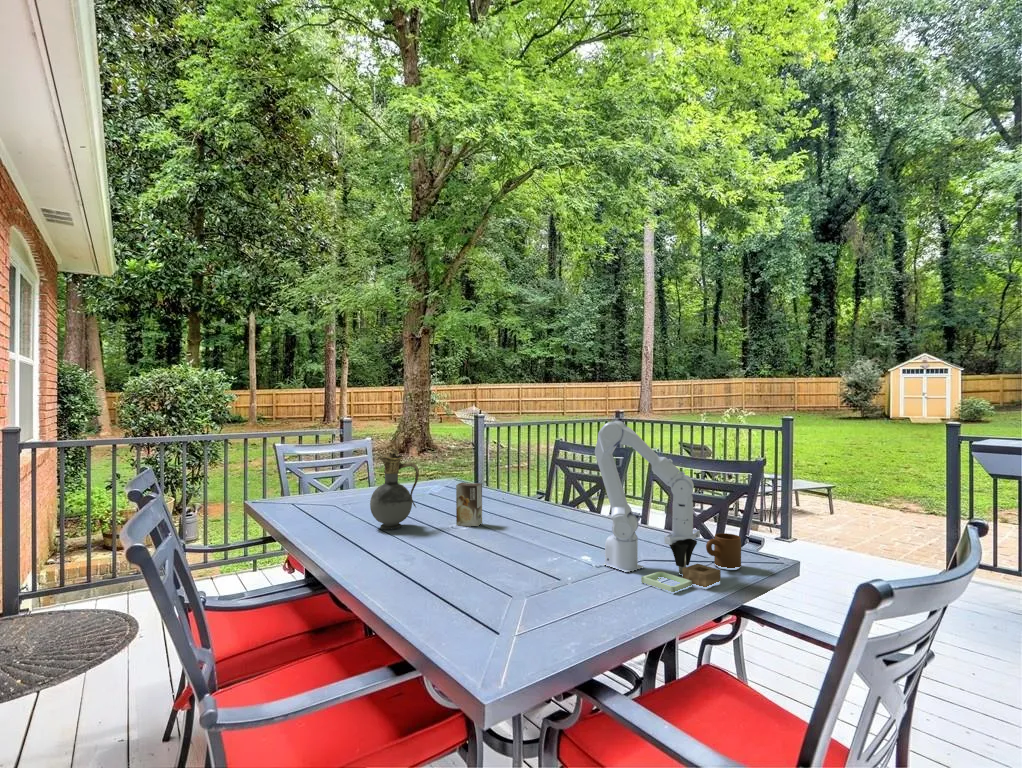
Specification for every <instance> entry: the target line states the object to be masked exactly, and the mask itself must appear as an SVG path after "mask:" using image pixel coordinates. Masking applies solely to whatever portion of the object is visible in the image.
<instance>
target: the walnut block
mask: <svg viewBox="0 0 1022 768" xmlns="http://www.w3.org/2000/svg"><path fill="white" fill-rule="evenodd" d="M721 570H722V569H719V568H714V567H710V566H708V565H704V564H700V563H695V564H691V565H688V566H686V567H685V568H683V576H682V578H684V579H688V580H691V581H692V584H696V585H699V586H703V587H707V586H709V585H712V584H714V583H716V582H719V581H722V580H721V575H722V574H721V572H722V571H721Z"/></svg>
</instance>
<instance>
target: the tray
mask: <svg viewBox="0 0 1022 768" xmlns="http://www.w3.org/2000/svg"><path fill="white" fill-rule="evenodd" d="M658 577H664V578H667V579H671V580H674V581H677V582H680V584H677V585H675V586H670V585H667V584H664V583H661V582H659V581H658V580H657V579H659V578H658ZM640 579H641V582H642V583H646V584H648V585H652V586H655V587H658V588H661V589H665V590H668V591H671V592H675V591H678V590H680V589H683V588H686V587H688V586H691V585H692V581H691V580H688V579H684V578H683V577H682V576H677V575H674V574H672V573H668V572H665V571H662V570H659V571H656V572H653V573H650V574H646V575H643V576H641V578H640ZM660 579H661V578H660ZM660 579H659V580H660Z"/></svg>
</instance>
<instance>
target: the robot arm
mask: <svg viewBox="0 0 1022 768" xmlns="http://www.w3.org/2000/svg"><path fill="white" fill-rule="evenodd" d="M618 445H622V446H628V447H631V448H633V450H635V451H636V452H637V453H638V454H639V455H640V456H641V457H642V458H643V459H644V460H646V462H648V463H649V464H650V465H651V472H652V473H654V474H655V476H657V477H658V478H659V480H661V481H662V482H663V483H664V485H666V486H667V487H670V491H671V493H672V495H673V496H672V516H671V517H672V524H671V525H672V531H671V532H670V533H669V534H668V535H665V536H664V544H665V545H668V546H669V547H670V549H671V552H672V554H673V557H674V561H675V565H676V567H678V568H679V567H684V562H685V553H686V567H688V566H690V561H691V558H692V555H693V552H694V550H695V547H696V546H697V545H698V540H695V539H697V538H700V537H701V530H699V529H696V528H694V503H693V500H694V497H693V491H694V487H695V485H694V482H693V480H692V478H691V477H690V476H689V475H686V473H685V472H684V471H681V470H680V469H679V468H678V467H677V466H676V465H675V464H674V463H673V462H674V461H673V460H672V459H671V458H669V459H668V458H667V457H666V456H659V455H658V454H657V453H656V452H655V451H654V450H653V449H652V448H651V447H650V445H648V443H646V442H645V441H644V440H643V439H642V438H641V437H640V436H639V434H638V433H636V432H635V431H634V430H633V429H632V428H631V427H629V426H627V424H626V423H625V422H623V421H621V420H613V421H608V422H606V423H605V424H603V426H602V427H600V430H599V431H598V435H597V441H596V445H595V449H594V455H595V458H596V462H597V464H598V468H599V471H600V476H601V478H602V482H603V485H604V489H605V492H606V494H607V498H608V500H609V505H610V507H611V514H610V515H611V521H612V526H611V532H612V534H611V535H608V537H607V538H606V539H605V543H604V563H603V565H602V566H604V565H606V566H605V567H607V566H610V567H613V568H616V569H619V570H622V571H624V572H623V573H625V572H629V573H631V572H630V571H632V572H635V571H634V570H636V571H638V570H637V569H639V570H641V569H640V568H642V567H644V566H643V565H640V564H639V563H638V556H639V555H638V551H639V549H638V548H639V547H638V546H639V545H638V542H639V541H638V540H639V539H638V538H639V537H638V535H637V534H636V532H637V530H638V528H639V520H638V518H637V516H636V515H635V513H634V512H633V511H632V507H630V505H629V503H628V500H627V497H626V493H625V491H624V488H623V484H622V481H621V478H620V475H619V471H618V468H617V464H616V461H615V458H614V455H613V453H614V451H615V450H616V448H617V446H618ZM610 567H609V568H610ZM613 568H612V569H613ZM644 568H645V567H644ZM616 569H615V570H616ZM642 569H643V568H642ZM619 570H618V571H619ZM622 571H621V572H622Z"/></svg>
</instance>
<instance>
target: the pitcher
mask: <svg viewBox="0 0 1022 768" xmlns="http://www.w3.org/2000/svg"><path fill="white" fill-rule="evenodd" d="M398 450H399V449H397V448H396V449H395V448H392V450H389V451H388V455H385V456H382V455H379V456H378V457H376V458H375V460H376V461H378V460H381V462H382V463H383V467H384V471H383V472H384V483H383V484H381V485H379V486H378V487H376V488H375V490H374V491H373V493H372V494H371V496H370V500H369V507H370V512H371V514H372V517H373V518H374V519H375V520H376V521H378V522H379V523H381V524H380V529H381V528H382V530H385V529H393V530H396V529H395V528H398V529H400V528H399V527H401V528H402V524H401V522H403V521H405V520H406V519H407V518H408V517H409V515H410V513H411V512H412V506H413V507H415V508H417V506H416V503H415V502H414V500H413V492H414V489H415V487H416V485H417V483H418V480H419V477H420V469H419V467H418V466H417V464H416V463H415V462H410V461H409V462H404V463H401V460H402V458H403V457H404V455H405V454H404V453H400V451H398ZM399 453H400V454H399ZM406 467H412V468H413V469H414V471H415V478H414V483H413V485H412V488H411V489H410V490H409V489H408V488H407V487H406V486H404V485H402V484H400V483H399V472H400V470H401V469H404V468H406Z"/></svg>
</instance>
